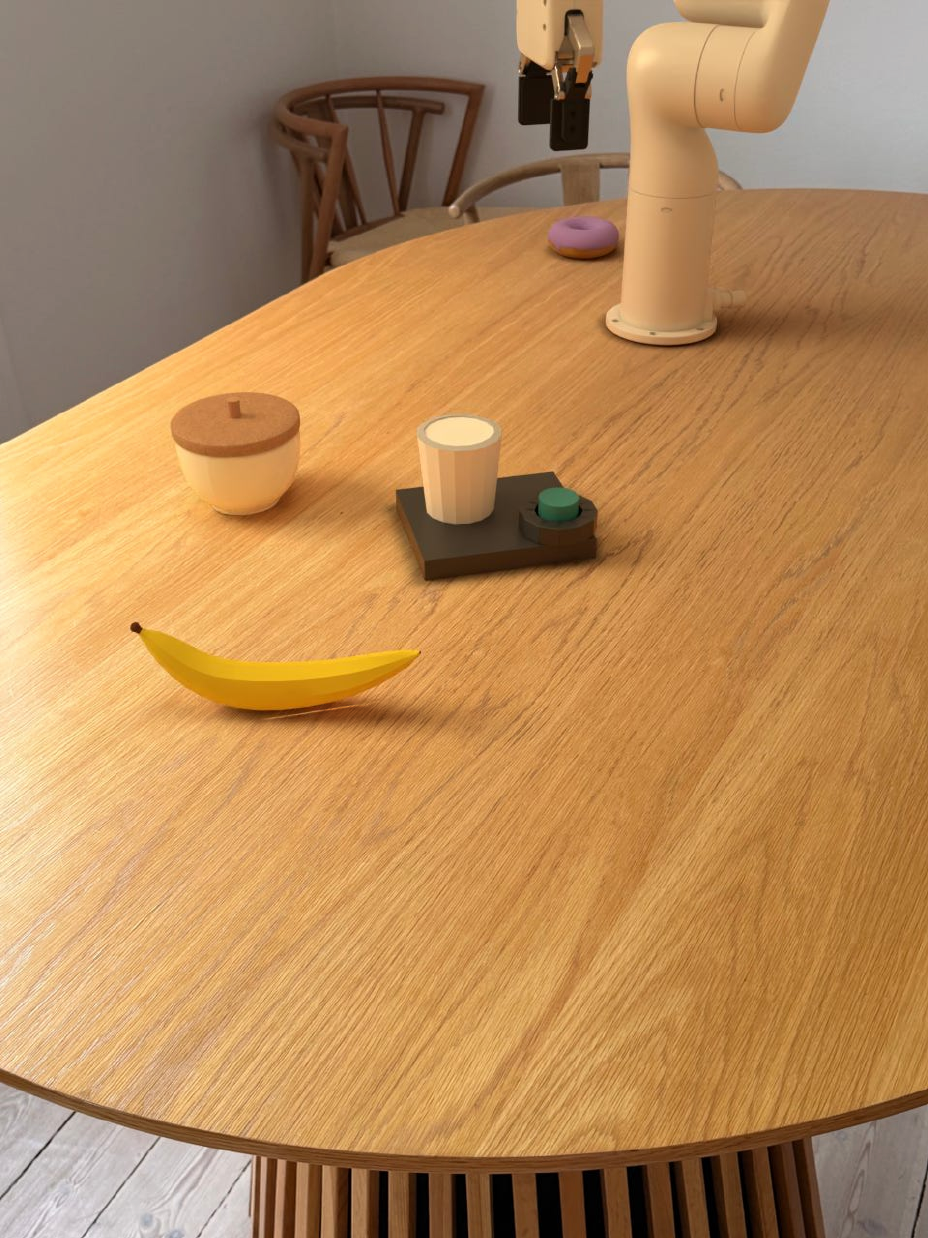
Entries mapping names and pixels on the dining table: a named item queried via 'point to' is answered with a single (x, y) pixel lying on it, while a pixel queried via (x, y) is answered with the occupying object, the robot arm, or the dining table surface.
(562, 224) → the donut
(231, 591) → the dining table surface
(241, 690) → the banana
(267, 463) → the cream bowl with lid
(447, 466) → the cream tapered cup
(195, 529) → the dining table surface
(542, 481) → the scale
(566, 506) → the button
